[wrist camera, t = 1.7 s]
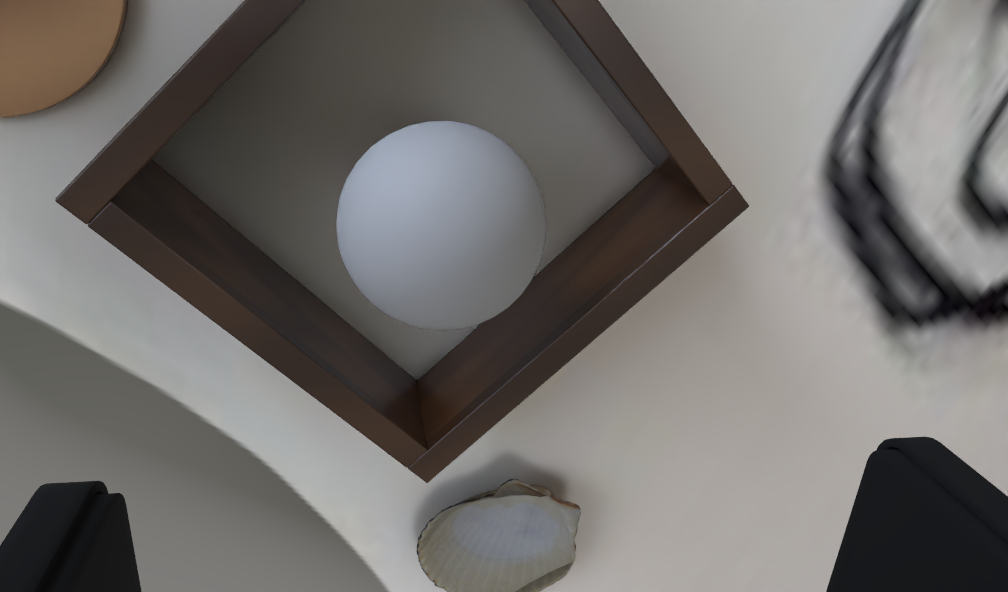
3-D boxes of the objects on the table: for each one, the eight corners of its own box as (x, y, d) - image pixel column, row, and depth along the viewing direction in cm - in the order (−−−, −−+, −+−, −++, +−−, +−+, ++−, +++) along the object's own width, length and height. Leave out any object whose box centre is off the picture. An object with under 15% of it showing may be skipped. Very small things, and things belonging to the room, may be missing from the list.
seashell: (399, 522, 37) (516, 604, 39) (384, 565, 35) (511, 652, 36) (496, 424, 34) (621, 517, 36) (488, 463, 32) (623, 562, 33)
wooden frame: (110, 157, 26) (52, 200, 21) (426, -172, 24) (444, -210, 19) (416, 406, 33) (427, 483, 28) (685, 168, 30) (750, 206, 25)
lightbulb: (488, 240, 30) (552, 369, 20) (339, 232, 29) (330, 367, 19) (505, 91, 28) (588, 156, 18) (343, 75, 26) (337, 135, 17)
